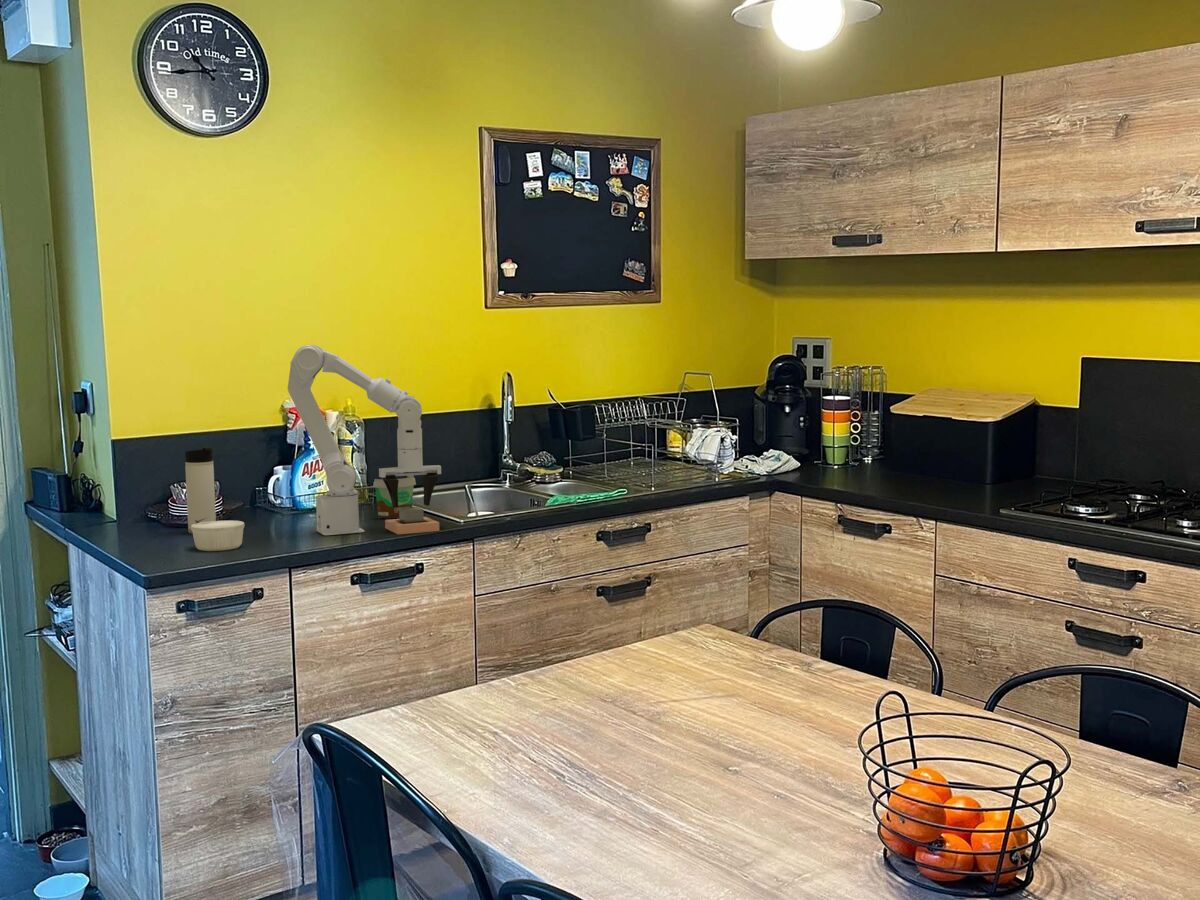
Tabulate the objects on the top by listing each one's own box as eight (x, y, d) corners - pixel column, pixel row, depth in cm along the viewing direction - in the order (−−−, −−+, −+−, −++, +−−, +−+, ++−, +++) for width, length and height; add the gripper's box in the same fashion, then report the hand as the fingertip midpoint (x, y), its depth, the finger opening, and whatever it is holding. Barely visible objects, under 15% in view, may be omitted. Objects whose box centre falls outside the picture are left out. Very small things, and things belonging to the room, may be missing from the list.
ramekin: (212, 542, 266) (210, 519, 265) (255, 544, 262) (254, 520, 262) (180, 551, 255) (179, 526, 254) (226, 553, 252) (225, 528, 251)
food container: (391, 521, 292) (389, 480, 291) (374, 519, 296) (372, 479, 295) (427, 514, 302) (426, 475, 301) (410, 512, 306) (409, 474, 305)
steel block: (405, 532, 276) (404, 510, 276) (399, 529, 280) (399, 508, 280) (424, 530, 278) (423, 509, 278) (418, 527, 282) (417, 506, 282)
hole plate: (397, 534, 272) (397, 525, 272) (385, 528, 281) (385, 520, 281) (439, 530, 277) (439, 522, 277) (425, 524, 286) (425, 516, 286)
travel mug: (201, 535, 275) (197, 449, 273) (182, 532, 278) (178, 447, 276) (223, 531, 280) (219, 446, 278) (204, 529, 283) (200, 445, 281)
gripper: (434, 445, 284) (435, 502, 285) (374, 448, 278) (376, 506, 279) (443, 448, 278) (444, 505, 279) (383, 451, 271) (384, 510, 273)
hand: (411, 506), depth 278 cm, fingers open, 7 cm apart
